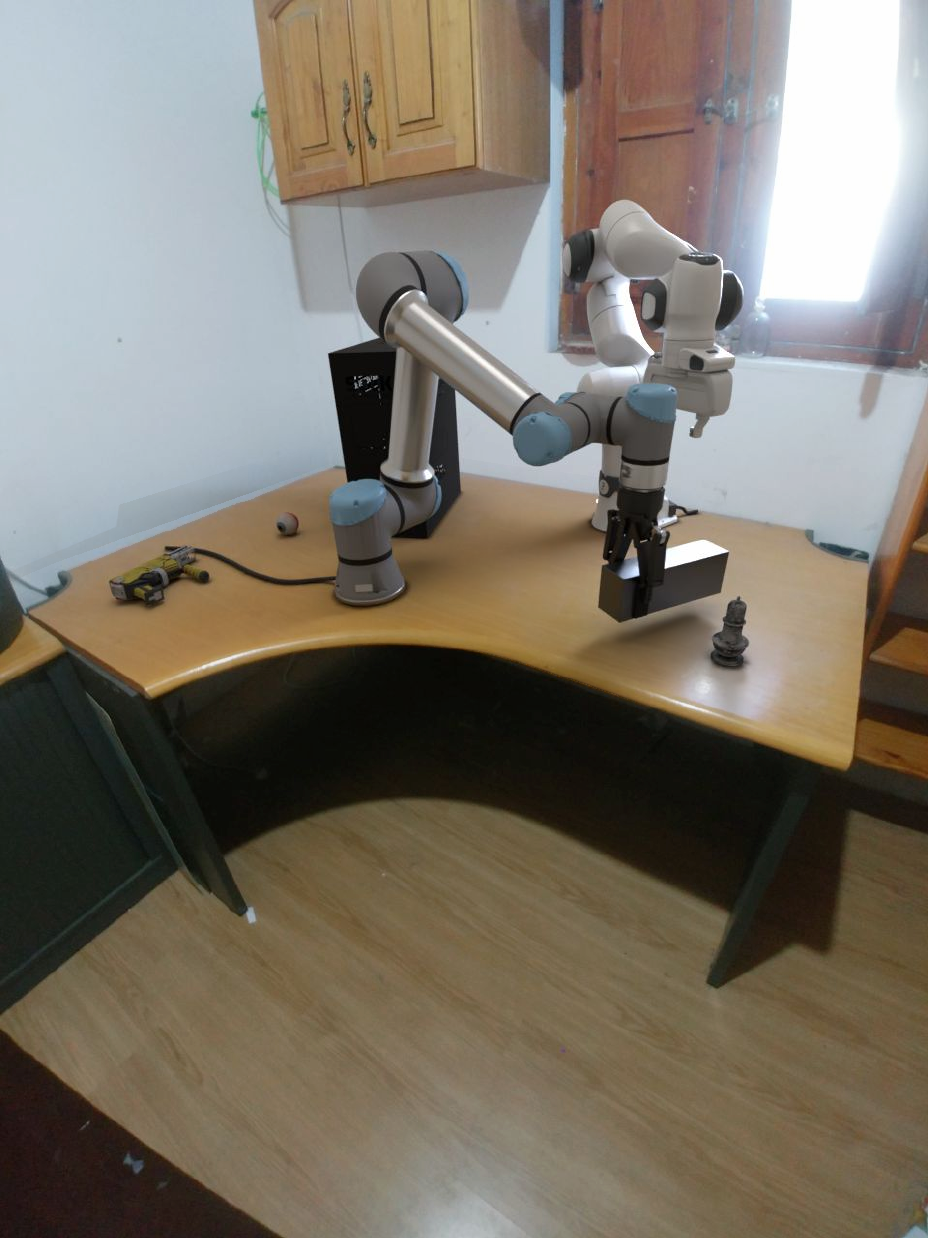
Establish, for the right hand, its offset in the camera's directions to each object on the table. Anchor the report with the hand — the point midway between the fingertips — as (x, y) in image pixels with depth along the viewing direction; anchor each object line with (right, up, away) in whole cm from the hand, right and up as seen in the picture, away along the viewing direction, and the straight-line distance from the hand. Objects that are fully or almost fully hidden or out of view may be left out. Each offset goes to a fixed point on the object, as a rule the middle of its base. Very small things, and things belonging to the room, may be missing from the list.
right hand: (677, 432), depth 117 cm
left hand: (-12, -34, -7) cm, 37 cm away
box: (-5, -33, -4) cm, 33 cm away
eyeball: (-90, -13, +48) cm, 102 cm away
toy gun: (-110, -28, +24) cm, 116 cm away
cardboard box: (-57, -5, +58) cm, 81 cm away
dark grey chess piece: (+4, -43, -14) cm, 46 cm away
